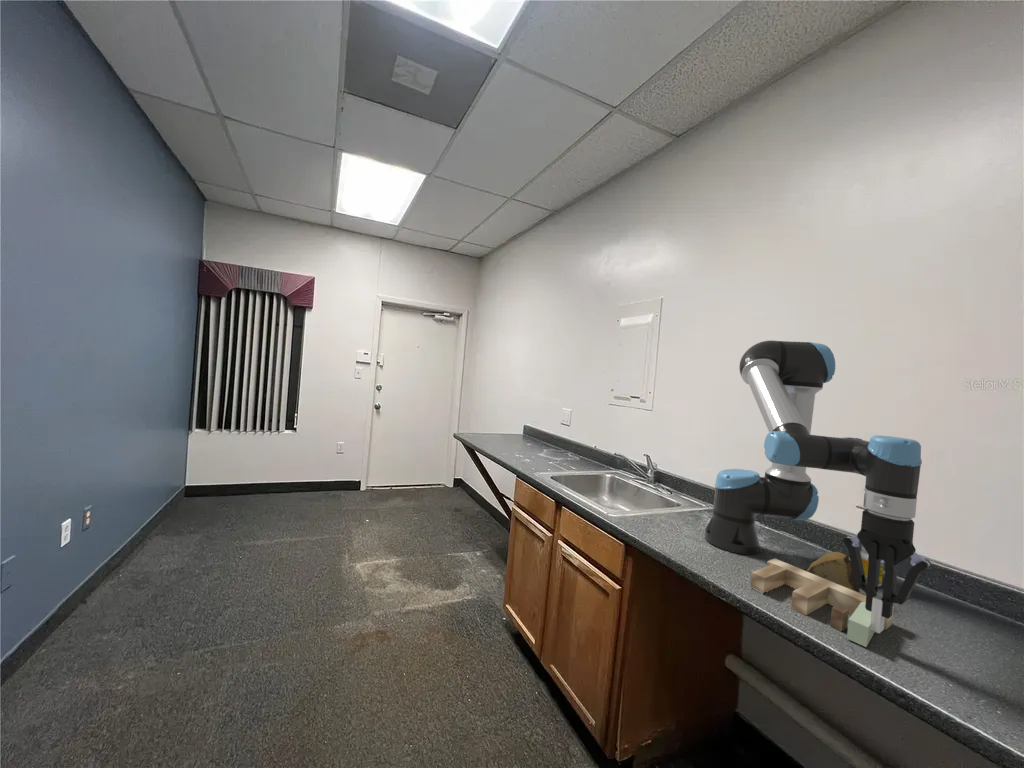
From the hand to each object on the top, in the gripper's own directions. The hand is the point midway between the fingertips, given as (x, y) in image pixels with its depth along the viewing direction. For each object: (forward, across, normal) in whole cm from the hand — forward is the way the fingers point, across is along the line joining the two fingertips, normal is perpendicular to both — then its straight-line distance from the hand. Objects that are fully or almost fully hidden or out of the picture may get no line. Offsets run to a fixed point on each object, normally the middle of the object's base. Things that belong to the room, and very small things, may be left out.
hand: (876, 629), depth 79 cm
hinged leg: (+3, -3, +2) cm, 4 cm away
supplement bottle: (+3, -10, +34) cm, 35 cm away
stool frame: (+3, -13, +5) cm, 14 cm away
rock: (+3, -15, +21) cm, 26 cm away
